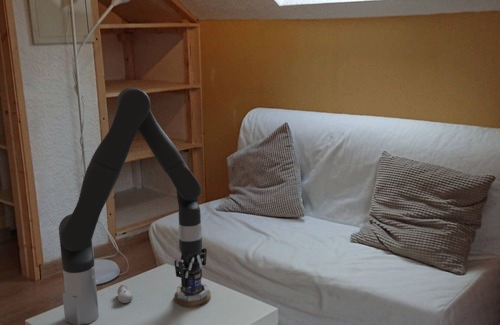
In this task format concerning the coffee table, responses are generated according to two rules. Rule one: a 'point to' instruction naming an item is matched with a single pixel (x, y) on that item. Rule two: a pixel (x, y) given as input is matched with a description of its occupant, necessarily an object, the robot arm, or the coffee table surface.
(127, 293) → the white head bust
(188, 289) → the pill bottle
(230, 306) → the coffee table surface
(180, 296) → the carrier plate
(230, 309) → the coffee table surface
